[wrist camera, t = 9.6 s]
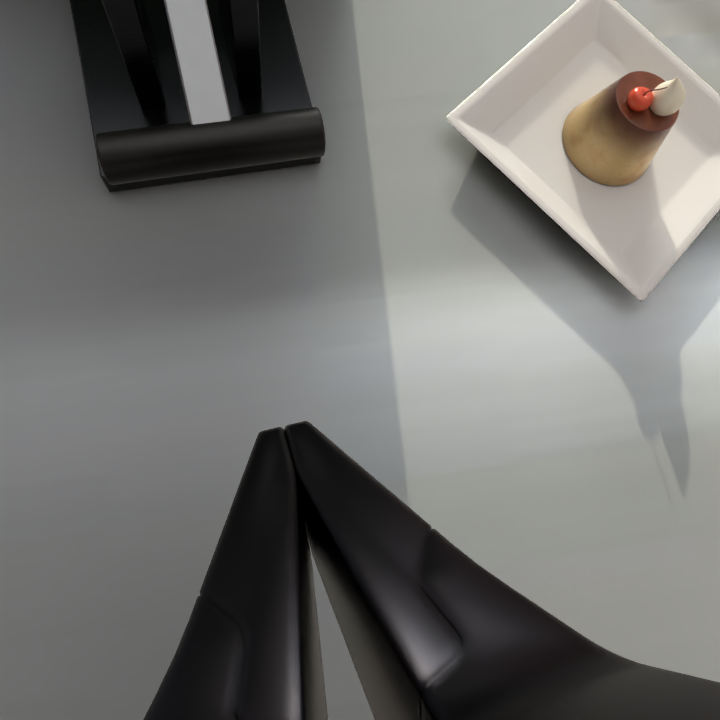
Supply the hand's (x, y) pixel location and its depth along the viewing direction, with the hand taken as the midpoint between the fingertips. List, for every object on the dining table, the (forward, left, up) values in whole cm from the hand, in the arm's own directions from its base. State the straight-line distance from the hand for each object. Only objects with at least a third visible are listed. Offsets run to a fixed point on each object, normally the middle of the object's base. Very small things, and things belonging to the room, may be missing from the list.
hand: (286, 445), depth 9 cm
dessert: (+22, +1, -12) cm, 25 cm away
